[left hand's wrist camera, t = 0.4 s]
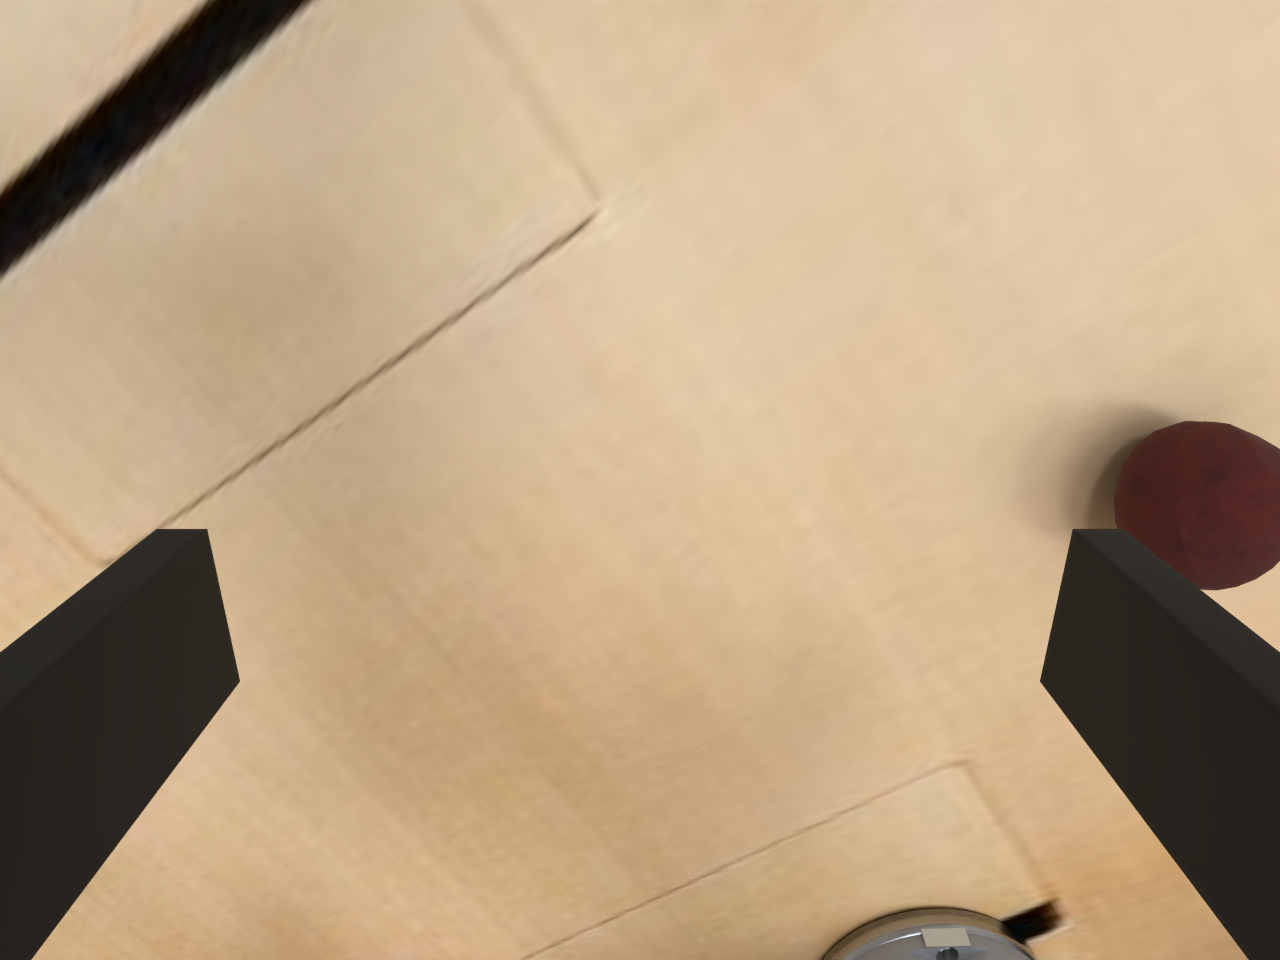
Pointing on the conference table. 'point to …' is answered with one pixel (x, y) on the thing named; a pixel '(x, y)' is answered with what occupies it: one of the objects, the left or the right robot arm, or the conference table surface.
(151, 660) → the left robot arm
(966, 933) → the right robot arm
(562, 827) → the conference table surface
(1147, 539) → the dark red ball
